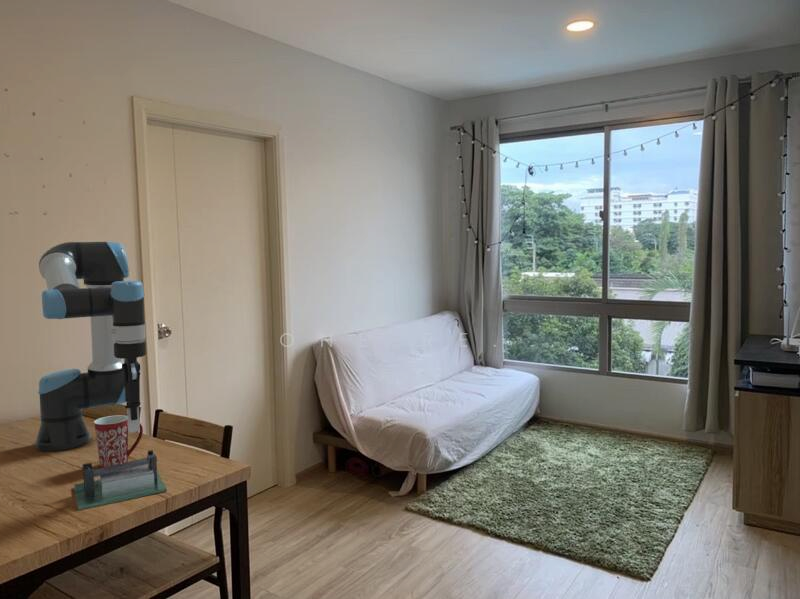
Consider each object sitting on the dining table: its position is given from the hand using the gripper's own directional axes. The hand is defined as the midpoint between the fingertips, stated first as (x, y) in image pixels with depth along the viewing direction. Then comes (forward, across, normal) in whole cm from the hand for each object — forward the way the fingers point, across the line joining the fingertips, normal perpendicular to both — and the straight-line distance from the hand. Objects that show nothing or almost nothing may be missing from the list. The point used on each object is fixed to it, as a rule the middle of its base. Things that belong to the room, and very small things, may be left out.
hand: (134, 431), depth 155 cm
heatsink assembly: (+15, 0, -4) cm, 15 cm away
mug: (+15, -20, -2) cm, 25 cm away
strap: (+10, 0, -3) cm, 10 cm away
